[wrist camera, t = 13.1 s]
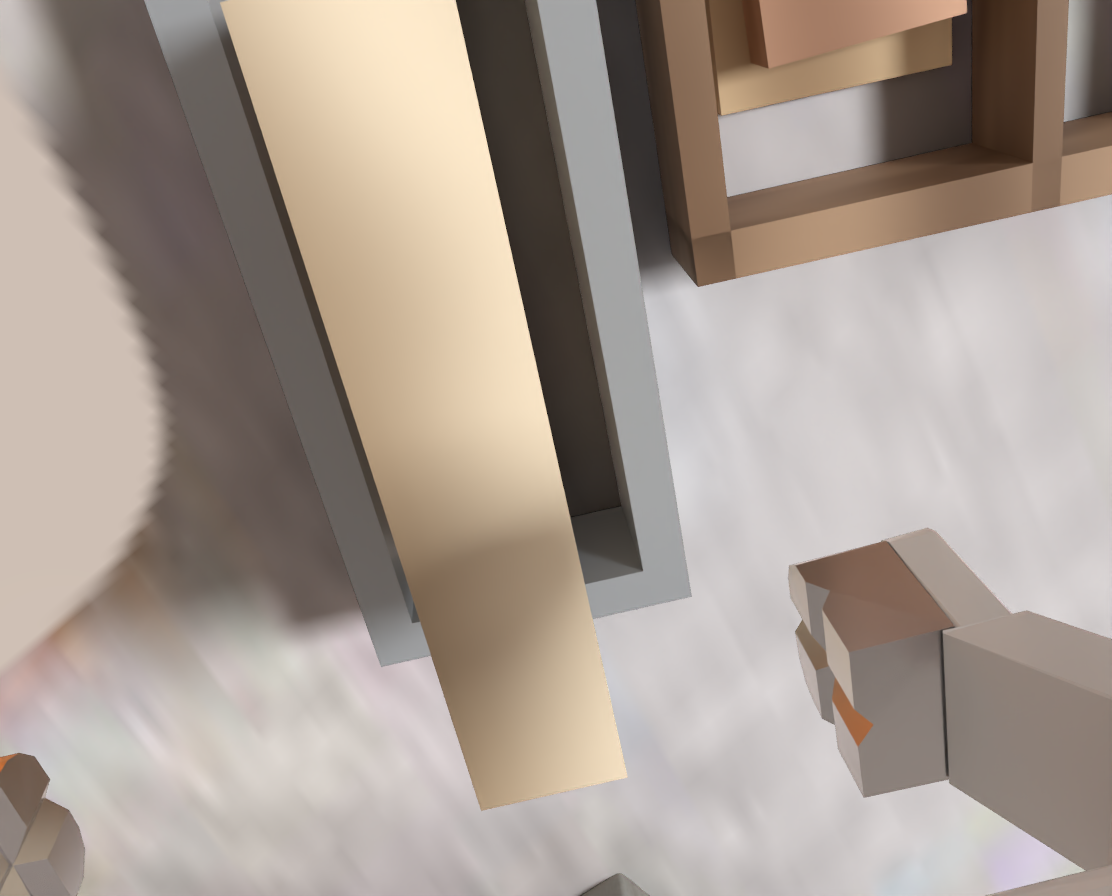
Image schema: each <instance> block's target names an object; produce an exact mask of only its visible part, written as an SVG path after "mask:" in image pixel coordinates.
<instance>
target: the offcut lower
mask: <svg viewBox="0 0 1112 896" xmlns="http://www.w3.org/2000/svg"><path fill="white" fill-rule="evenodd" d="M705 9H706V18H707V26H708V35H709V44H710V53H711V61H712V70H713V79H714V88H715V97H716V105H717V114H719V115H721V116H722V115H726V114H731V113H736V112H740V111H745V110H749V109H754V108H758V107H763V106H767V105H772V104H776V103H781V102H786V101H790V100H795V99H799V98H804V97H808V96H813V95H817V94H822V93H827V92H831V91H836V90H840V89H845V88H849V87H854V86H858V85H863V84H867V83H872V82H877V81H881V80H886V79H890V78H895V77H899V76H904V75H908V74H913V73H917V72H922V71H927V70H931V69H936V68H940V67H945V66H949V65H952V17H951V18H947V19H944V20H940V21H937V22H933V23H929V24H926V25H922V26H919V27H915V28H912V29H908V30H904V31H901V32H897V33H894V34H890V35H887V36H883V37H880V38H876V39H872V40H869V41H865V42H862V43H858V44H855V45H851V46H848V47H844V48H840V49H837V50H833V51H830V52H826V53H823V54H819V55H816V56H812V57H808V58H805V59H801V60H798V61H794V62H791V63H787V64H784V65H780V66H776V67H773V68H769V69H768V68H765V67H762V66H759V65H755V64H752V63H751V60H750V53H749V47H748V40H747V33H746V26H745V19H744V12H743V5H742V0H705Z"/></svg>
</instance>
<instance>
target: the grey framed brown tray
mask: <svg viewBox="0 0 1112 896" xmlns="http://www.w3.org/2000/svg"><path fill="white" fill-rule="evenodd" d="M582 896H649V895H648V894H647V893H646V892H645V891H643V890H642V889H641V888H640V887H639V886H637V885H636V884H635V883H634V882H632V881H631V880H630V879H629V878H627V877H626V876H624V875H623V874H620V873H619V874H616V875H614V876H612V877H610V878H608V879H607V880H605V881H604V882H602V883H600V884H599V885H597V886H596V887H594V888H592V889H591V890H589V891H588V892H586V893H585V894H583V895H582Z"/></svg>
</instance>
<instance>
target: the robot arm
mask: <svg viewBox="0 0 1112 896" xmlns="http://www.w3.org/2000/svg"><path fill="white" fill-rule="evenodd" d="M788 580H789V588H790V597H791V600H792V601H793V603H794V605H795V607H796V609H797V610H798V612H799V614H800V616H801V618H802V621H801V623H800V625H799V626H798V628H797V630H796V631H795V634H796V641H797V647H798V653H799V659H800V662H801V666H802V670H803V674H804V677H805V681H806V684H807V687H808V689H809V692H810V694H811V697H812V699H813V701H814V703H815V705H816V707H817V709H818V711H819V713H820V715H821V717H822V719H824V720H826V721H828V722H830V723H832V724H834V725H835V729H836V737H837V745H838V750H839V752H840V754H841V756H842V758H843V760H844V761H845V763H846V765H847V767H848V769H849V771H850V773H851V775H852V776H853V778H854V780H855V782H856V784H857V786H858V788H859V790H860V792H861V793H862V795H863V797H864V798H865V797H870V796H874V795H879V794H883V793H888V792H893V791H897V790H902V789H906V788H911V787H916V786H920V785H925V784H930V783H934V782H939V781H943V780H948V779H949V783H950V784H951V785H953V786H954V787H956V788H957V789H959V790H960V791H962V792H964V793H965V794H967V795H968V796H970V797H971V798H973V799H975V800H976V801H978V802H979V803H981V804H982V805H984V806H986V807H987V808H989V809H990V810H992V811H993V812H995V813H996V814H998V815H1000V816H1001V817H1003V818H1004V819H1006V820H1007V821H1009V822H1011V823H1012V824H1014V825H1015V826H1017V827H1018V828H1020V829H1022V830H1023V831H1025V832H1026V833H1028V834H1029V835H1031V836H1032V837H1034V838H1036V839H1037V840H1039V841H1040V842H1042V843H1043V844H1045V845H1047V846H1048V847H1050V848H1051V849H1053V850H1054V851H1056V852H1057V853H1059V854H1061V855H1062V856H1064V857H1065V858H1067V859H1068V860H1070V861H1072V862H1073V863H1075V864H1076V865H1078V866H1079V867H1081V868H1083V869H1084V870H1086V871H1084V872H1080V873H1076V874H1072V875H1068V876H1063V877H1059V878H1055V879H1051V880H1047V881H1043V882H1039V883H1035V884H1031V885H1027V886H1023V887H1019V888H1015V889H1011V890H1007V891H1002V892H998V893H994V894H990V895H986V896H1112V639H1110V638H1107V637H1104V636H1101V635H1098V634H1095V633H1092V632H1089V631H1086V630H1083V629H1080V628H1077V627H1074V626H1071V625H1068V624H1065V623H1062V622H1059V621H1056V620H1053V619H1050V618H1047V617H1044V616H1041V615H1038V614H1035V613H1032V612H1030V611H1023V612H1018V613H1014V614H1012V613H1011V612H1010V611H1009V610H1008V609H1007V607H1006V606H1005V605H1004V604H1003V603H1002V602H1001V601H1000V600H999V599H998V598H997V597H996V596H995V594H994V593H993V592H992V591H991V590H990V589H989V588H988V587H987V586H986V585H985V584H984V583H983V581H982V580H981V579H980V578H979V577H978V576H977V575H976V574H975V573H974V572H973V571H972V570H971V568H970V567H969V566H968V565H967V564H966V563H965V562H964V561H963V560H962V559H961V558H960V557H959V555H958V554H957V553H956V552H955V551H954V550H953V549H952V548H951V547H950V546H949V545H948V544H947V543H946V541H945V540H944V539H943V538H942V537H941V536H940V535H939V534H938V533H937V532H936V531H935V530H932V529H929V528H925V529H921V530H917V531H914V532H910V533H906V534H903V535H899V536H896V537H892V538H888V539H885V540H882V541H881V542H879V543H875V544H871V545H867V546H863V547H859V548H855V549H852V550H848V551H844V552H840V553H836V554H832V555H828V556H824V557H820V558H816V559H812V560H808V561H804V562H800V563H797V564H793V565H789V574H788ZM49 782H50V779H49V777H48V776H47V774H46V773H45V771H44V770H43V768H42V767H41V765H40V764H39V762H38V761H37V760H36V758H35V757H34V756H30V755H26V754H22V753H17V754H12V755H8V756H3V757H0V896H77V894H78V891H79V888H80V886H81V883H82V880H83V877H84V855H85V847H84V844H83V840H82V837H81V833H80V830H79V827H78V825H77V823H76V821H75V820H74V818H73V816H72V815H71V813H70V811H69V810H68V809H66V808H64V807H62V806H60V805H58V804H56V803H54V802H52V801H50V800H48V799H46V798H45V796H46V793H47V789H48V785H49Z"/></svg>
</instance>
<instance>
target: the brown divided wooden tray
mask: <svg viewBox="0 0 1112 896" xmlns="http://www.w3.org/2000/svg"><path fill="white" fill-rule="evenodd" d="M635 1H636V8H637V15H638V22H639V29H640V36H641V43H642V50H643V57H644V64H645V71H646V78H647V85H648V92H649V98H650V105H651V112H652V119H653V126H654V133H655V140H656V147H657V154H658V161H659V168H660V175H661V182H662V189H663V196H664V203H665V210H666V217H667V224H668V231H669V238H670V245H671V252H672V255H673V256H674V258H675V259H676V260H677V261H678V263H679V264H680V265H681V266H682V268H683V269H684V270H685V271H686V273H687V274H688V275H689V276H690V278H691V279H692V280H693V281H694V283H695V284H696V285H697V286H698V287H700V286H704V285H709V284H713V283H718V282H722V281H727V280H731V279H736V278H740V277H744V276H749V275H753V274H758V273H762V272H767V271H771V270H776V269H780V268H785V267H789V266H794V265H798V264H803V263H807V262H811V261H816V260H820V259H825V258H829V257H834V256H838V255H843V254H847V253H852V252H856V251H861V250H865V249H870V248H874V247H878V246H883V245H887V244H892V243H896V242H901V241H905V240H910V239H914V238H919V237H923V236H928V235H932V234H937V233H941V232H945V231H950V230H954V229H959V228H963V227H968V226H972V225H977V224H981V223H986V222H990V221H995V220H999V219H1004V218H1008V217H1013V216H1017V215H1021V214H1026V213H1030V212H1035V211H1039V210H1044V209H1048V208H1053V207H1057V206H1062V205H1066V204H1071V203H1075V202H1080V201H1084V200H1088V199H1093V198H1097V197H1102V196H1106V195H1111V194H1112V112H1108V113H1104V114H1099V115H1095V116H1090V117H1086V118H1081V119H1077V120H1072V121H1068V122H1063V121H1064V98H1065V75H1066V52H1067V29H1068V6H1069V0H972V143H969V144H965V145H960V146H956V147H951V148H947V149H942V150H938V151H933V152H929V153H924V154H920V155H915V156H911V157H906V158H902V159H897V160H893V161H888V162H884V163H879V164H875V165H871V166H866V167H862V168H857V169H853V170H848V171H844V172H839V173H835V174H830V175H826V176H821V177H817V178H812V179H808V180H803V181H799V182H794V183H790V184H785V185H781V186H776V187H772V188H767V189H763V190H758V191H754V192H749V193H745V194H741V195H736V196H732V197H727V193H726V185H725V176H724V167H723V158H722V149H721V141H720V132H719V123H718V114H717V105H716V97H715V88H714V79H713V70H712V61H711V53H710V44H709V35H708V26H707V18H706V9H705V0H635Z"/></svg>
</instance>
